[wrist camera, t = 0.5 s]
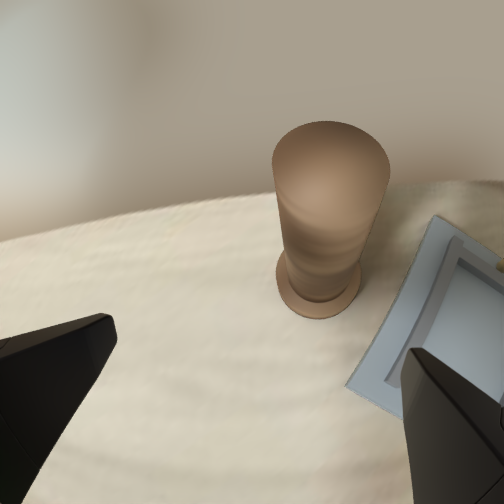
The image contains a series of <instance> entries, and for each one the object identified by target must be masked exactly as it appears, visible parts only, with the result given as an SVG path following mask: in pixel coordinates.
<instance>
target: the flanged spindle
mask: <svg viewBox="0 0 504 504" xmlns="http://www.w3.org/2000/svg"><path fill="white" fill-rule="evenodd" d="M272 168H273V175H274V181H275V188H276V195H277V202H278V209H279V216H280V223H281V230H282V237H283V245H284V251H283V252H282V254H281V255H280V257H279V260H278V263H277V267H276V280H277V285H278V289H279V292H280V295H281V297H282V299H283V301H284V302H285V304H286V305H287V306H288V307H289V308H290V309H291V310H292V311H294V312H295V313H297V314H298V315H301V316H303V317H306V318H310V319H326V318H330V317H333V316H335V315H337V314H339V313H341V312H342V311H343V310H345V309H346V308H347V307H348V306H349V304H350V303H351V302H352V300H353V298H354V297H355V295H356V293H357V291H358V289H359V287H360V283H361V266H360V263H359V258H360V256H361V253H362V251H363V248H364V246H365V243H366V241H367V238H368V236H369V233H370V231H371V228H372V226H373V223H374V220H375V218H376V215H377V212H378V210H379V207H380V204H381V202H382V199H383V196H384V193H385V190H386V187H387V185H388V181H389V178H390V164H389V160H388V157H387V155H386V153H385V151H384V149H383V148H382V147H381V145H380V144H379V143H378V142H377V141H376V140H375V139H374V138H373V137H372V136H370V135H369V134H367V133H366V132H364V131H363V130H361V129H359V128H357V127H354V126H352V125H349V124H345V123H341V122H334V121H318V122H312V123H308V124H304V125H302V126H299V127H297V128H295V129H293V130H291V131H290V132H288V133H287V134H286V135H285V136H284V137H283V138H282V139H281V140H280V141H279V143H278V144H277V146H276V148H275V150H274V153H273V157H272Z"/></svg>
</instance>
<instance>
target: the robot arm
mask: <svg viewBox="0 0 504 504" xmlns="http://www.w3.org/2000/svg"><path fill="white" fill-rule="evenodd" d="M116 343H117V333H116V329H115V324H114V320H113V317H112V316H111V315H109V314H104V313H98V314H95V315H91V316H88V317H84V318H80V319H77V320H73V321H69V322H66V323H62V324H58V325H54V326H51V327H47V328H43V329H40V330H36V331H32V332H28V333H24V334H21V335H17V336H13V337H12V338H11V337H9V338H5V339H1V340H0V503H1V504H21V503H22V502H23V500H24V498H25V496H26V494H27V492H28V491H29V489H30V487H31V485H32V483H33V482H34V480H35V478H36V476H37V475H38V473H39V471H40V469H41V467H42V466H43V464H44V462H45V461H46V459H47V457H48V456H49V454H50V452H51V451H52V449H53V447H54V446H55V444H56V442H57V441H58V439H59V438H60V436H61V434H62V433H63V431H64V429H65V428H66V426H67V425H68V423H69V422H70V420H71V418H72V417H73V415H74V414H75V412H76V411H77V409H78V407H79V406H80V404H81V403H82V401H83V400H84V398H85V397H86V395H87V394H88V392H89V391H90V389H91V388H92V386H93V385H94V383H95V382H96V380H97V378H98V377H99V375H100V373H101V371H102V369H103V368H104V366H105V364H106V362H107V360H108V358H109V356H110V354H111V353H112V351H113V349H114V347H115V345H116ZM400 381H401V394H402V408H403V423H404V430H405V436H406V442H407V449H408V456H409V463H410V471H411V480H412V489H413V500H414V504H504V406H502V407H501V404H500V403H498V402H497V401H496V400H494V399H493V398H491V397H490V396H489V395H487V394H486V393H485V392H483V391H482V390H481V389H479V388H478V387H477V386H475V385H474V384H472V383H471V382H470V381H468V380H467V379H466V378H464V377H463V376H461V375H460V374H459V373H457V372H456V371H455V370H453V369H452V368H450V367H449V366H448V365H446V364H445V363H443V362H442V361H441V360H439V359H438V358H436V357H435V356H434V355H432V354H431V353H429V352H428V351H427V350H425V349H424V348H421V347H412V348H409V349H408V351H407V354H406V357H405V360H404V363H403V366H402V369H401V374H400Z"/></svg>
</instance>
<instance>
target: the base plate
mask: <svg viewBox="0 0 504 504" xmlns="http://www.w3.org/2000/svg"><path fill="white" fill-rule="evenodd" d="M412 347H421V348H424V349H425V350H427V351H428V352H429V353H431V354H432V355H434V356H435V357H436V358H438V359H439V360H441V361H442V362H443V363H445V364H446V365H448V366H449V367H450V368H452V369H453V370H455V371H456V372H457V373H459V374H460V375H461V376H463V377H464V378H466V379H467V380H468V381H470V382H471V383H472V384H474V385H475V386H477V387H478V388H479V389H481V390H482V391H483V392H485V393H486V394H487V395H489V396H490V397H491V398H493V399H494V400H496V401H497V402H498V403H500V404H501V407H502V406H504V258H503V259H501V258H500V257H499V256H497V255H496V254H494V253H493V252H492V251H490V250H489V249H487V248H486V247H484V246H483V245H481V244H480V243H478V242H477V241H475V240H474V239H472V238H471V237H469V236H468V235H466V234H465V233H463V232H462V231H460V230H458V229H457V228H455V227H454V226H452V225H450V224H449V223H447V222H445V221H444V220H442V219H441V218H439V217H437V216H436V215H434V216H433V218H432V219H431V221H430V222H429V225H428V227H427V230H426V232H425V235H424V237H423V240H422V242H421V244H420V247H419V249H418V251H417V254H416V256H415V258H414V260H413V262H412V265H411V267H410V269H409V271H408V273H407V275H406V278H405V280H404V282H403V284H402V286H401V288H400V290H399V292H398V294H397V296H396V298H395V300H394V302H393V304H392V306H391V308H390V310H389V311H388V313H387V315H386V317H385V319H384V321H383V323H382V324H381V326H380V328H379V330H378V332H377V333H376V335H375V337H374V339H373V340H372V342H371V344H370V346H369V347H368V349H367V351H366V352H365V354H364V356H363V357H362V359H361V361H360V362H359V364H358V366H357V367H356V369H355V370H354V372H353V374H352V375H351V377H350V378H349V380H348V381H347V383H346V384H345V386H344V387H346V388H348V389H349V390H351V391H353V392H354V393H356V394H358V395H360V396H361V397H363V398H365V399H366V400H368V401H370V402H372V403H373V404H375V405H377V406H379V407H380V408H382V409H384V410H386V411H388V412H389V413H391V414H393V415H395V416H397V417H398V418H400V419H402V420H403V408H402V394H401V381H400V374H401V369H402V366H403V363H404V360H405V357H406V354H407V351H408V349H409V348H412Z"/></svg>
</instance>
